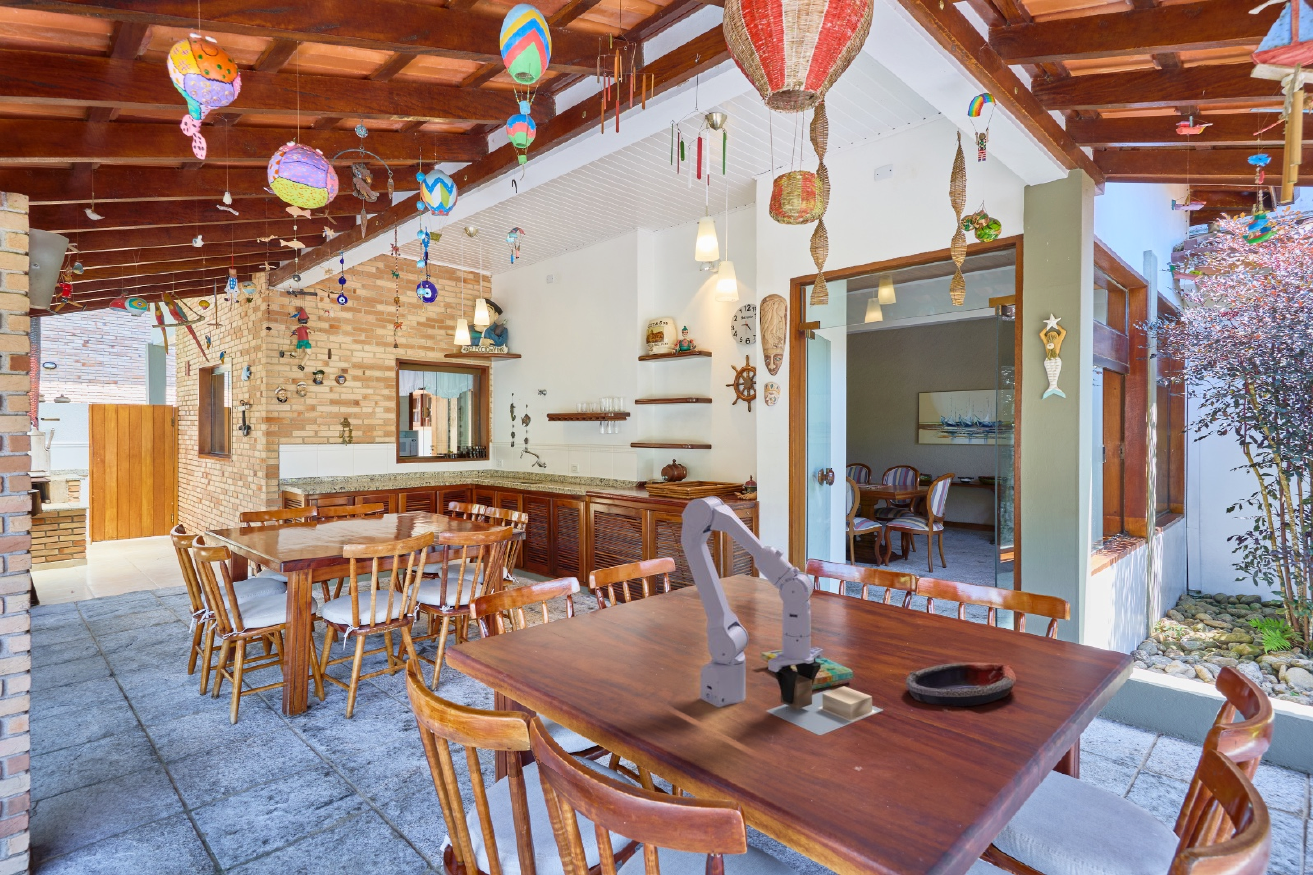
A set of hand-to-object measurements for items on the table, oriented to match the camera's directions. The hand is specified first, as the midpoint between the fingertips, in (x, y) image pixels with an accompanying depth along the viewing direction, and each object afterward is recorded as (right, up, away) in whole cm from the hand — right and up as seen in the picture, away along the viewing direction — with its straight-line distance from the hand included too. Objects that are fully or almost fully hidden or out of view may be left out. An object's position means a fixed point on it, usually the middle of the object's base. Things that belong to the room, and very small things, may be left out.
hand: (796, 699), depth 135 cm
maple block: (+10, -2, -1) cm, 11 cm away
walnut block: (0, -1, 0) cm, 1 cm away
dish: (+40, -3, +10) cm, 41 cm away
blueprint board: (+6, -3, -1) cm, 6 cm away
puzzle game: (+7, -4, +21) cm, 22 cm away
